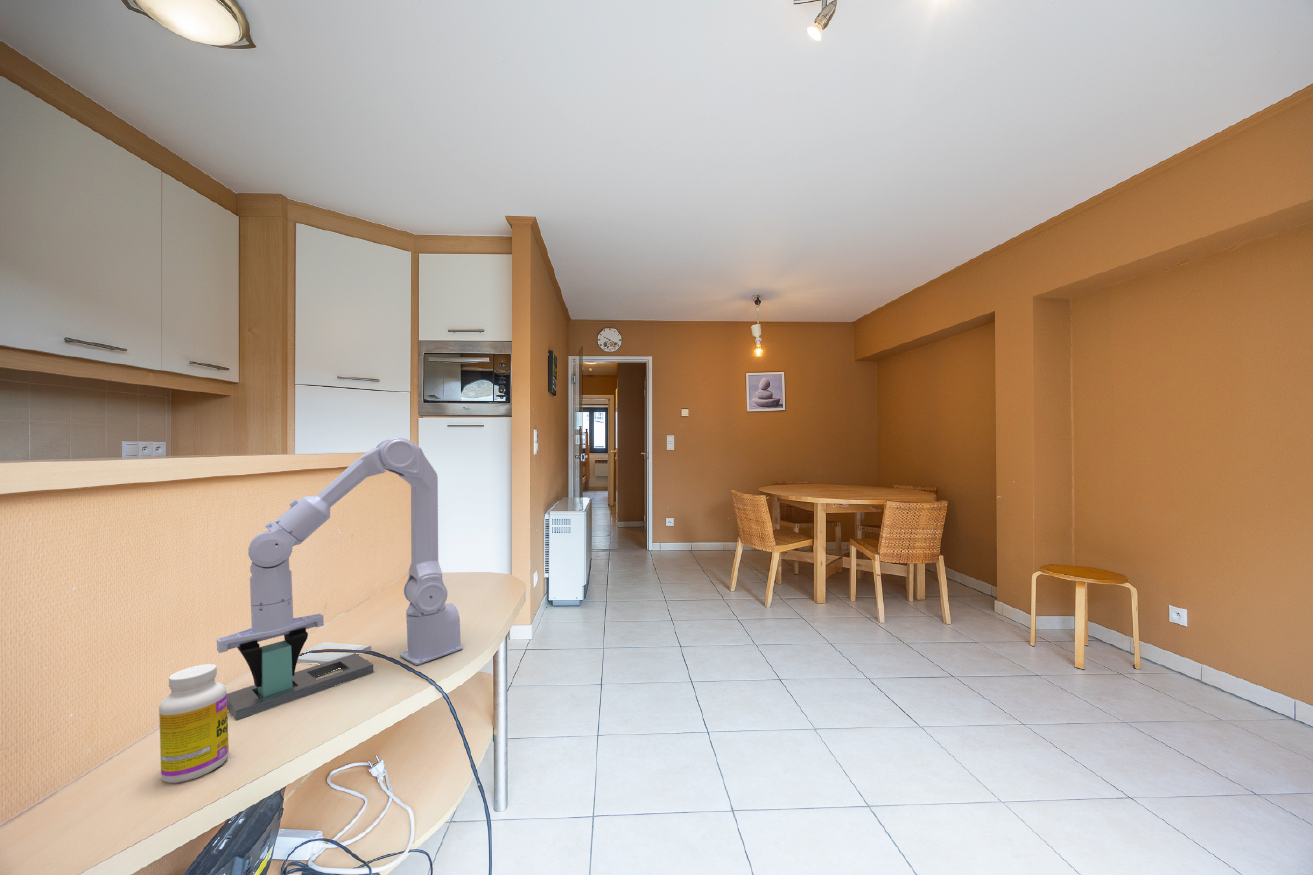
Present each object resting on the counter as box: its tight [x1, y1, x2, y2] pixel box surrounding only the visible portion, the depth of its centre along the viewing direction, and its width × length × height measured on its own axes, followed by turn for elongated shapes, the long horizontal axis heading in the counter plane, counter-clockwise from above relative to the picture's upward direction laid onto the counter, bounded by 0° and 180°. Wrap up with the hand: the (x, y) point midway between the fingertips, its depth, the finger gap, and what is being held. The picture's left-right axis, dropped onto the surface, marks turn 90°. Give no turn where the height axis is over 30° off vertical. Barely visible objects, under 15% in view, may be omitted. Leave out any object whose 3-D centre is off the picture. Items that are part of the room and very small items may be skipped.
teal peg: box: [258, 639, 293, 699], centre depth 86 cm, size 4×4×8 cm
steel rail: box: [227, 653, 375, 721], centre depth 89 cm, size 20×9×2 cm, turn 140°
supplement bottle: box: [158, 663, 230, 784], centre depth 66 cm, size 7×7×13 cm
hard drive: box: [297, 641, 372, 664], centre depth 103 cm, size 2×8×12 cm
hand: (274, 679), depth 86 cm, fingers closed on teal peg, 4 cm apart
